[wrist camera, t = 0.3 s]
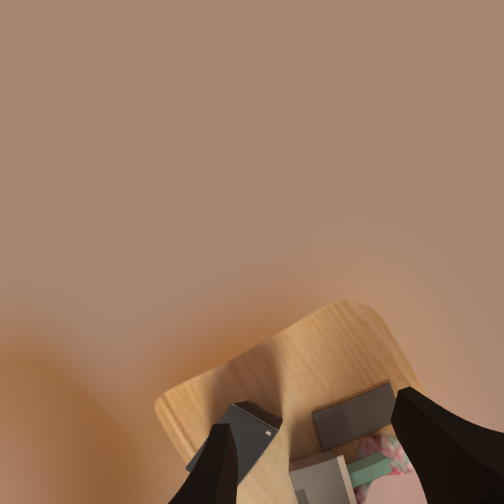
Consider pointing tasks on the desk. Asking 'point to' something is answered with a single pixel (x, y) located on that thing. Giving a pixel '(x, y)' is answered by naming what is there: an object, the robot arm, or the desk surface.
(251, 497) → the desk surface
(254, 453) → the small box
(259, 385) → the desk surface
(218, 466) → the robot arm
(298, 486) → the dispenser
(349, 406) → the mat
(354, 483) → the green block
